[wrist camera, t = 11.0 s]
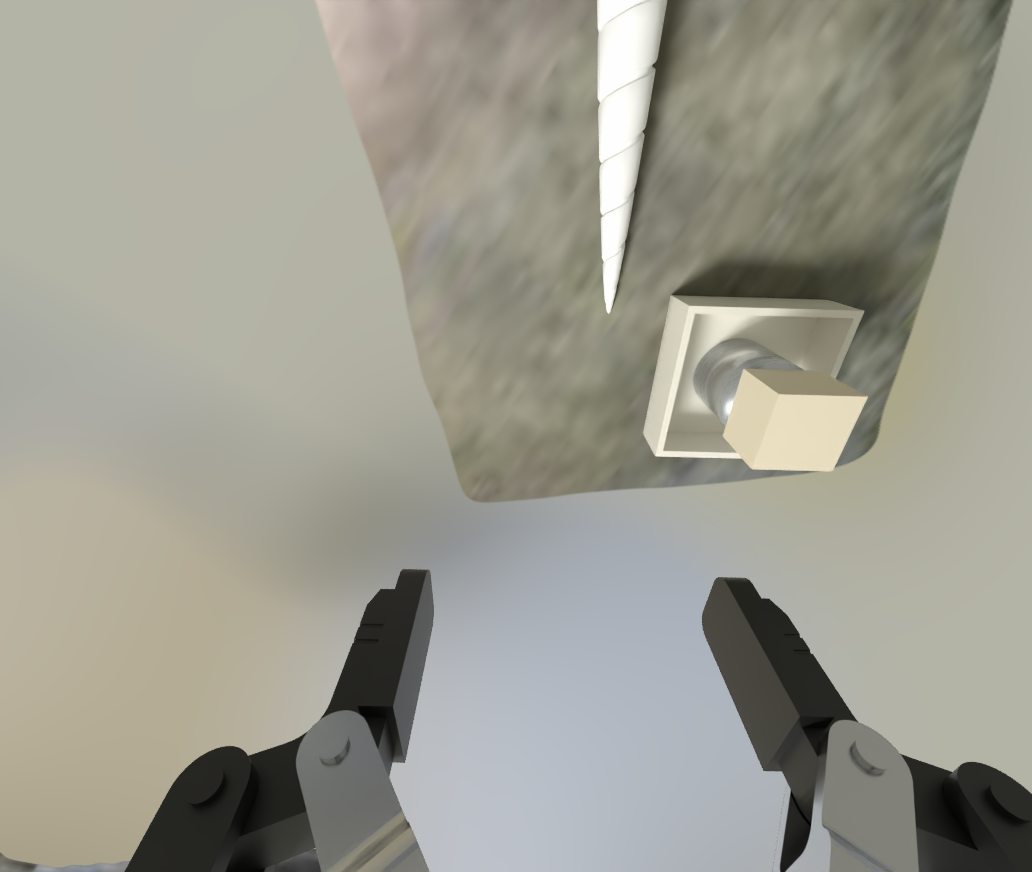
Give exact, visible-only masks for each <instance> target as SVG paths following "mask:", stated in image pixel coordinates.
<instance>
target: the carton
mask: <svg viewBox="0 0 1032 872" xmlns="http://www.w3.org/2000/svg"><path fill="white" fill-rule="evenodd" d="M867 398H868V396H866V395H864V394H862V393H860V392H858V391H857V390H855V389H853V388H851V387H849V386H847V385H846V384H844V383H842V382H840V381H838V380H836V379H835V378H833V377H831V376H829V375H827V374H825V373H824V372H822V371H812V370H774V369H743V372H742V375H741V378H740V381H739V385H738V388H737V391H736V395H735V398H734V401H733V404H732V408H731V411H730V414H729V417H728V421H727V424H726V427H725V430H724V433H723V437H724V439H725V440H726V441H727V442H728V443H729V444H730V445H731V446H732V448H733V449H734V450H735V451H736V452H737V453H738V454H739V455H740V457H741V458H742V459H743V460H744V461H745V462H746V463H747V464H748V466H749V467H750V468H751V469H762V470H802V471H833V469H834V467H835V465H836V463H837V460H838V458H839V456H840V454H841V452H842V450H843V448H844V446H845V444H846V442H847V440H848V437H849V435H850V433H851V431H852V429H853V427H854V425H855V423H856V421H857V419H858V417H859V414H860V412H861V410H862V408H863V406H864V404H865V402H866V400H867Z"/></svg>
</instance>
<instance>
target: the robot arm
mask: <svg viewBox="0 0 1032 872" xmlns="http://www.w3.org/2000/svg"><path fill="white" fill-rule="evenodd" d="M433 616H434V604H433V594H432V585H431V575H430V571H429V570H415V569H403V570H402V571H401V572H400V575H399V578H398V581H397V584H396V587H395V589H380V591H379V592H378V593H377V594H376V595H375V596H374V598H373V599H372V600H371V601H370V602H369V603H368V604H367V607H366V609H365V612H364V615H363V618H362V620H361V622H360V627H359V628H358V630H357V633H356V636H355V638H354V643H353V644H352V647H351V649H350V652H349V655H348V657H347V660H346V662H345V665H344V668H343V670H342V673H341V676H340V678H339V681H338V683H337V686H336V689H335V691H334V694H333V697H332V699H331V702H330V704H329V707H328V708H327V710H326V712H325V713H324V715H323V716H322V718H321V719H320V720H319V721H318V722H317V723H316V724H315V725H313V726H312V728H311V729H310V730H309V731H308V732H306V733H305V734H304V735H302V736H300V737H299V738H297V739H295V740H293V741H290V742H288V743H286V744H283V745H279V746H276V747H274V748H270V749H267V750H264V751H261V752H258V753H255V754H252V755H249V756H248V755H247V754H246V752H244V750H242V749H240V748H238V747H234V746H225V747H220V748H217V749H214V750H212V751H209V752H207V753H206V754H204V755H202V756H200V757H199V758H198V759H196V760H195V761H194V762H192V763H191V764H190V765H189V766H188V767H187V768H186V769H185V770H184V771H183V772H182V773H181V774H180V775H179V777H178V778H177V779H176V781H175V782H174V783H173V785H172V786H171V788H170V790H169V791H168V793H167V795H166V797H165V799H164V800H163V802H162V804H161V806H160V808H159V810H158V812H157V813H156V815H155V817H154V819H153V821H152V822H151V824H150V826H149V828H148V830H147V832H146V833H145V835H144V837H143V839H142V841H141V842H140V844H139V846H138V848H137V850H136V852H135V854H134V855H133V857H132V859H131V861H130V863H129V864H128V866H127V868H126V870H125V872H274V870H275V867H276V864H277V863H279V862H282V861H284V860H287V859H289V858H292V857H294V856H296V855H299V854H301V853H304V852H306V851H309V850H311V849H314V848H316V851H317V855H318V859H319V863H320V867H321V871H322V872H429V869H428V867H427V864H426V862H425V859H424V857H423V854H422V852H421V850H420V847H419V845H418V842H417V840H416V837H415V835H414V833H413V831H412V829H411V826H410V825H409V822H408V821H407V820H406V818H405V815H404V813H403V811H402V808H401V806H400V803H399V801H398V798H397V796H396V794H395V791H394V788H393V786H392V783H391V781H390V778H389V775H390V770H391V766H392V762H400V763H401V762H402V763H405V760H406V755H407V749H408V745H409V740H410V735H411V730H412V725H413V720H414V715H415V710H416V705H417V700H418V695H419V691H420V686H421V681H422V676H423V671H424V666H425V661H426V656H427V651H428V646H429V641H430V636H431V631H432V626H433ZM702 625H703V631H704V634H705V637H706V639H707V642H708V644H709V646H710V648H711V651H712V653H713V655H714V658H715V660H716V662H717V665H718V666H719V669H720V672H721V674H722V676H723V678H724V680H725V683H726V685H727V688H728V690H729V692H730V695H731V697H732V699H733V701H734V704H735V706H736V708H737V711H738V713H739V715H740V718H741V720H742V722H743V724H744V727H745V729H746V731H747V734H748V736H749V738H750V741H751V743H752V745H753V747H754V749H755V752H756V754H757V757H758V759H759V761H760V764H761V766H762V768H763V770H764V771H782V772H783V774H784V776H785V778H786V780H787V783H788V785H787V787H786V789H785V793H784V799H783V805H782V812H781V818H780V824H779V831H778V837H777V844H776V850H775V856H774V862H773V869H772V872H1032V794H1031V793H1030V792H1029V791H1028V790H1026V789H1025V788H1024V787H1023V786H1022V785H1020V784H1019V783H1018V782H1016V781H1015V780H1013V779H1012V778H1011V777H1009V776H1007V775H1006V774H1004V773H1002V772H1001V771H999V770H997V769H995V768H993V767H990V766H988V765H985V764H982V763H977V762H966V763H963V764H962V765H960V766H959V767H958V768H957V769H956V770H955V771H954V772H950V771H948V770H944V769H942V768H939V767H936V766H933V765H930V764H927V763H924V762H921V761H918V760H916V759H912V758H910V757H907V756H904V755H902V754H900V753H899V752H898V751H897V749H896V748H895V747H894V746H893V745H892V744H891V743H890V742H889V741H888V740H886V739H885V738H884V737H883V736H882V735H880V734H879V733H878V732H876V731H874V730H873V729H871V728H870V727H868V726H866V725H864V724H861V723H859V722H858V721H857V720H856V719H855V717H854V716H853V715H852V713H851V711H850V710H849V708H848V707H847V706H846V704H845V702H844V701H843V699H842V698H841V696H840V695H839V693H838V692H837V690H836V689H835V687H834V686H833V684H832V683H831V681H830V679H829V678H828V676H827V675H826V673H825V672H824V670H823V669H822V668H821V666H820V664H819V663H818V661H817V660H816V658H815V657H814V655H813V654H811V653H810V649H809V648H808V646H807V645H806V643H805V641H804V640H803V639H802V638H800V634H799V633H798V631H797V629H796V628H795V626H794V625H793V623H792V622H791V620H790V619H789V617H788V616H787V615H786V614H785V613H784V612H783V611H782V610H781V609H780V608H779V607H778V606H776V605H775V604H774V603H773V602H772V601H771V600H770V599H761V597H760V595H759V594H758V592H757V591H756V589H755V587H754V586H753V584H752V583H751V582H750V580H748V579H746V578H724V577H718V578H716V580H715V581H714V584H713V586H712V589H711V592H710V594H709V597H708V600H707V602H706V605H705V608H704V611H703V615H702Z"/></svg>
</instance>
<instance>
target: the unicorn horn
mask: <svg viewBox="0 0 1032 872" xmlns="http://www.w3.org/2000/svg"><path fill="white" fill-rule="evenodd" d="M666 5H667V0H597V13H598V31H599V37H598V100H599V102H600V105H599V108H598V121H599V160H600V162H601V163H602V164H601V166H600V168H599V173H600V212H601V214H602V215H603V217H602V218H601V242H602V259H603V261H604V263H603V281H604V295H605V302H606V309H607V312H608V314H609V313H610V312H611V309H612V306H613V302H614V298H615V294H616V289H617V283H618V280H619V275H620V270H621V264H622V259H623V254H624V249H625V240H626V237H627V233H628V227H629V222H630V216H631V211H632V205H633V199H634V189H635V186H636V182H637V177H638V171H639V165H640V159H641V153H642V147H643V142H644V136H645V135H644V133H643V130H644V129H645V127H646V124H647V118H648V112H649V106H650V100H651V95H652V89H653V83H654V77H655V71H656V70H655V69H654V68H653V67H652V66H653V64H654V63H655V62H656V60H657V58H658V53H659V47H660V41H661V35H662V29H663V23H664V17H665V11H666Z"/></svg>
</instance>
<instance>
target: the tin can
mask: <svg viewBox="0 0 1032 872" xmlns="http://www.w3.org/2000/svg"><path fill="white" fill-rule="evenodd" d="M743 369H774V370H803V369H802V368H800V367H798V366H797V365H795V364H793V363H791V362H790V361H788V360H786V359H784V358H783V357H781V356H779V355H777V354H776V353H774V352H772V351H770V350H769V349H767V348H765V347H764V346H762V345H760V344H758V343H757V342H755V341H752V340H749V339H744V338H735V339H730V340H726V341H724V342H721V343H719V344H717V345H716V346H714V347H713V348H711V349H710V350H709V351H708V352H707V353H706V354H705V355H704V356H703V357H702V358H701V360H700V361H699V363H698V365H697V367H696V369H695V372H694V377H693V386H694V390H695V392H696V394H697V396H698V397H699V398H700V400H701V401H702V402H703V403H704V404H705V405H706V406H707V407H708V408H709V409H710V410H711V411H712V412H713V413H714V414H715V415H716V417H717V418H718V419H719V420H720V421H721V422H722V423H723V424H724V425H725V426H726V424H727V421H728V417H729V414H730V411H731V408H732V404H733V401H734V398H735V395H736V391H737V388H738V385H739V381H740V378H741V375H742V372H743Z"/></svg>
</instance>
